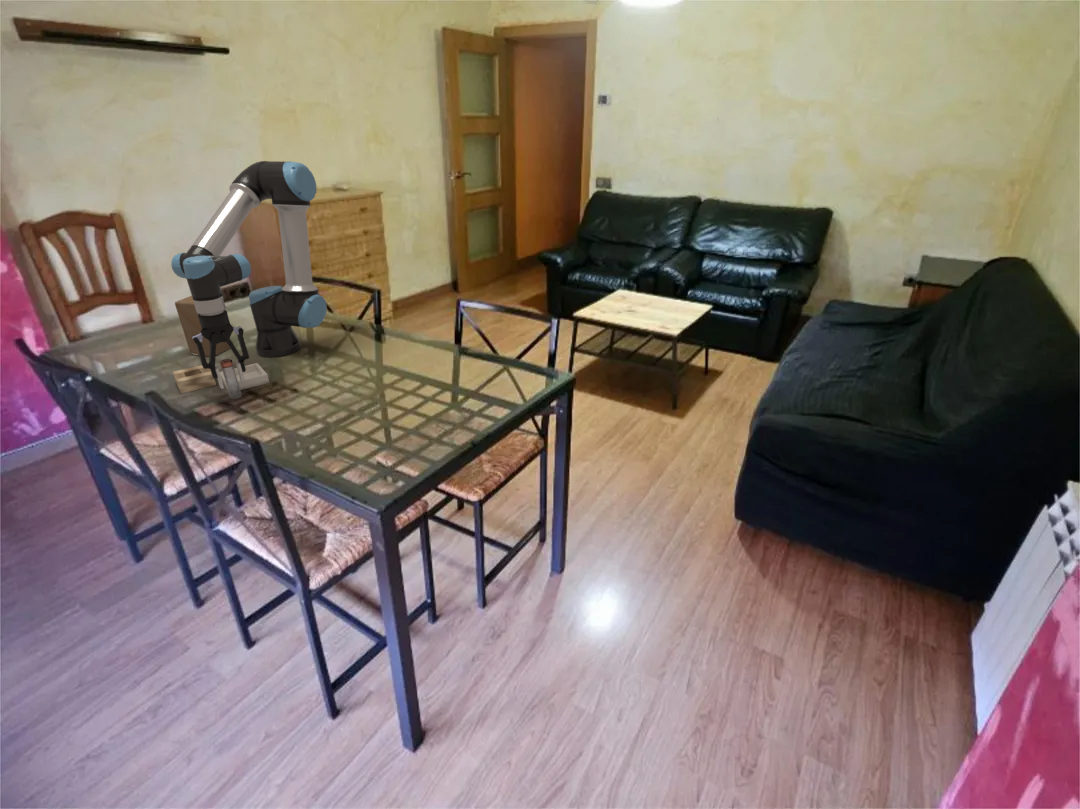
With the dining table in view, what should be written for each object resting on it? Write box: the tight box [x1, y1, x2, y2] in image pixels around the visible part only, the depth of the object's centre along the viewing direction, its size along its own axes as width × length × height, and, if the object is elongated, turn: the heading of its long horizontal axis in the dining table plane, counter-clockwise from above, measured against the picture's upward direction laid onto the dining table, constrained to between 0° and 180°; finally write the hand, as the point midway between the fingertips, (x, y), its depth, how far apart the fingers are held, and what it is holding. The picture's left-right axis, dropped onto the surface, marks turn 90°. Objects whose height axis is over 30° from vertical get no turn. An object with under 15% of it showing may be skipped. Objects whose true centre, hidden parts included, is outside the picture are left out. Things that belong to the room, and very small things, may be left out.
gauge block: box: [172, 364, 217, 394], centre depth 182 cm, size 10×10×4 cm
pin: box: [219, 358, 243, 400], centre depth 172 cm, size 3×3×12 cm
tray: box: [219, 362, 270, 391], centre depth 184 cm, size 12×12×3 cm
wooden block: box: [174, 295, 231, 357], centre depth 204 cm, size 10×10×20 cm
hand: (232, 384), depth 173 cm, fingers open, 5 cm apart
